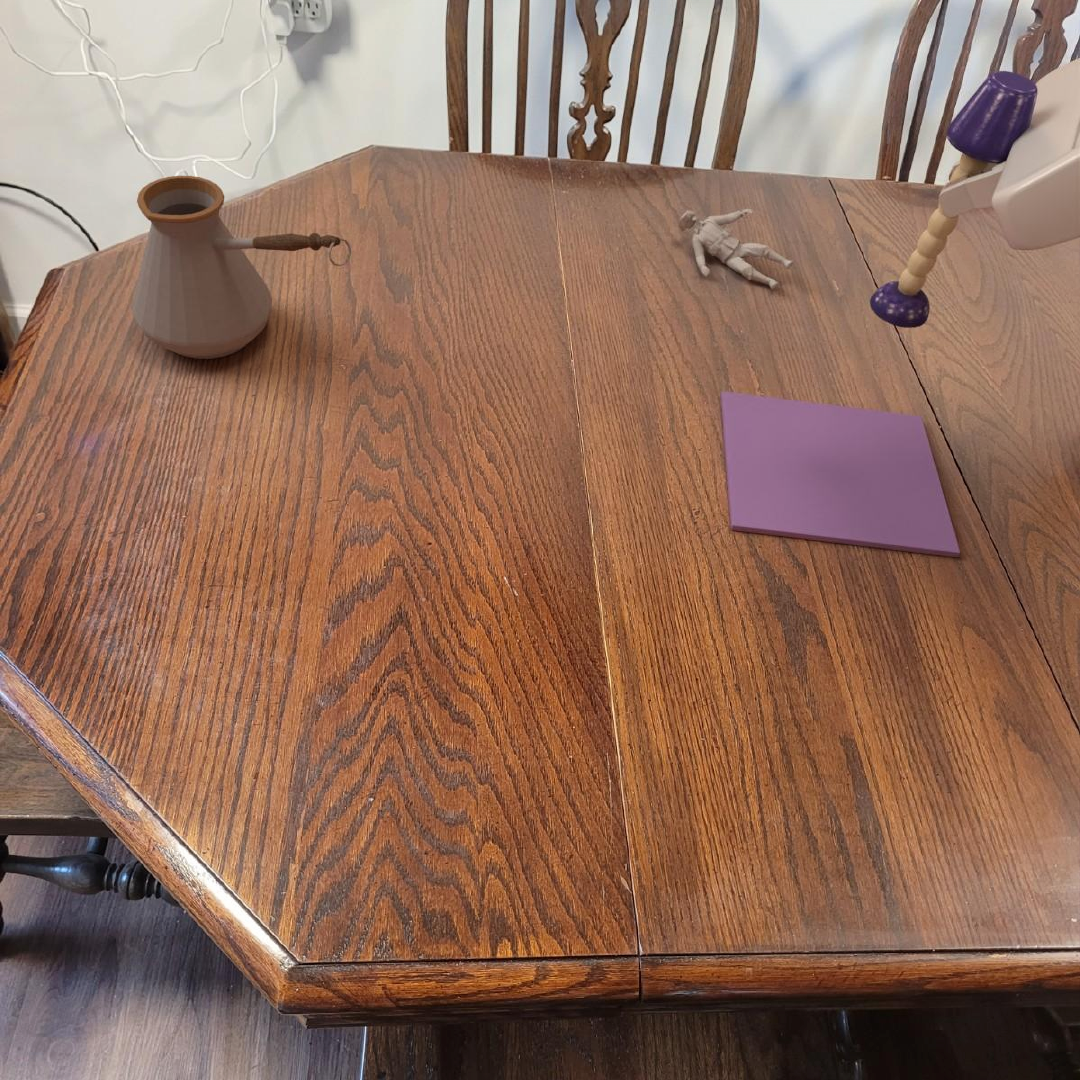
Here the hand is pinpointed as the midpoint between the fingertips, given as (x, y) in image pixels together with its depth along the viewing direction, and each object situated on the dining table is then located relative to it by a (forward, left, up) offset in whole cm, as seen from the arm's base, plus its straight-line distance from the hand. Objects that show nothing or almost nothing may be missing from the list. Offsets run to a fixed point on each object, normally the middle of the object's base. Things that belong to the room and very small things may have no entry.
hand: (948, 192), depth 61 cm
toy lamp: (0, 0, -9) cm, 9 cm away
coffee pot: (+50, -4, -25) cm, 56 cm away
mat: (0, +2, -24) cm, 24 cm away
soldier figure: (+7, -27, -25) cm, 37 cm away
